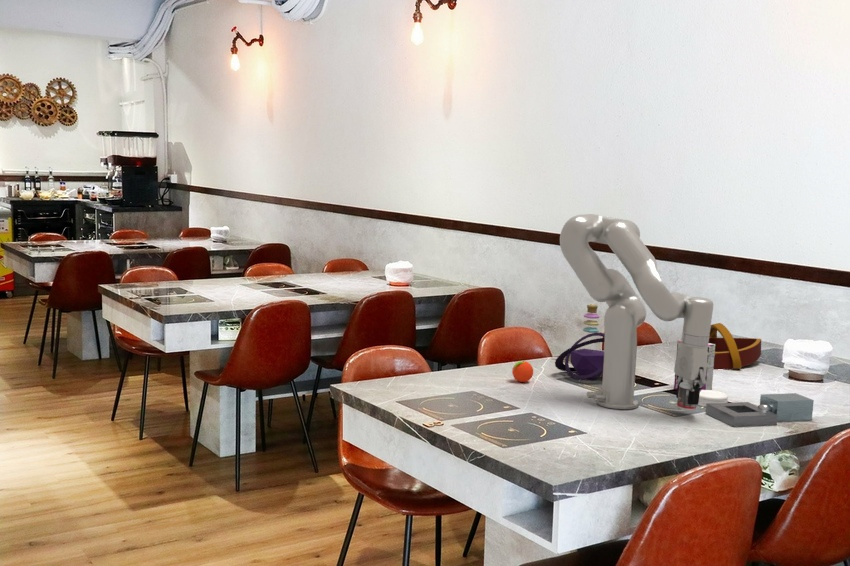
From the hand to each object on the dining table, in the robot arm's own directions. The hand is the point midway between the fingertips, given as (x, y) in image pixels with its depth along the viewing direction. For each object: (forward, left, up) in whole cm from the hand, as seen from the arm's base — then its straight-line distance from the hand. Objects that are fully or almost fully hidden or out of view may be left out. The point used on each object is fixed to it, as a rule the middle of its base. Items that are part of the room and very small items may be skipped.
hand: (687, 400), depth 258 cm
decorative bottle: (-8, +49, -5) cm, 50 cm away
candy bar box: (+18, +26, -5) cm, 32 cm away
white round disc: (+15, +11, -5) cm, 19 cm away
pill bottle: (0, 0, -3) cm, 3 cm away
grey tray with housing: (+21, -6, -4) cm, 22 cm away
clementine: (-34, +45, -5) cm, 57 cm away
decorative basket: (+57, +69, -5) cm, 89 cm away
